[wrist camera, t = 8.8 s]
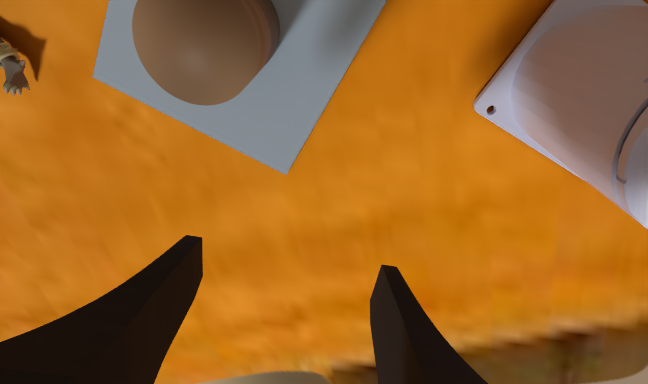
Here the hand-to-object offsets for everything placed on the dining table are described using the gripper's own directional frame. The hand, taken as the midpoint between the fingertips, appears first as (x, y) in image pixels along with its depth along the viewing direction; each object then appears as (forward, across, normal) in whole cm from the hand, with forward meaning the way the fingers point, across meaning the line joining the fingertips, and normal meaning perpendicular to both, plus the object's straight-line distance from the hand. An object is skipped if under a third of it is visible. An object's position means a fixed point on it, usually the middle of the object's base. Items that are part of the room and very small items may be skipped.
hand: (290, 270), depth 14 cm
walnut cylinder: (+9, +5, -7) cm, 13 cm away
